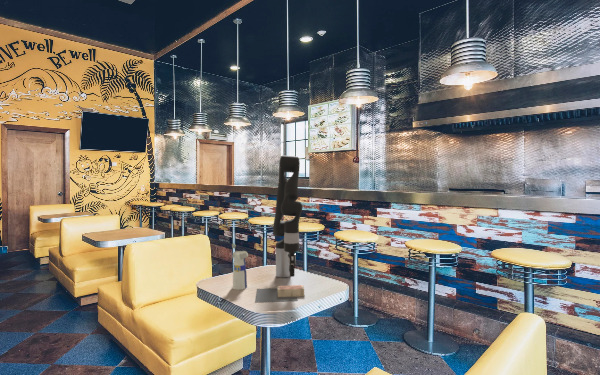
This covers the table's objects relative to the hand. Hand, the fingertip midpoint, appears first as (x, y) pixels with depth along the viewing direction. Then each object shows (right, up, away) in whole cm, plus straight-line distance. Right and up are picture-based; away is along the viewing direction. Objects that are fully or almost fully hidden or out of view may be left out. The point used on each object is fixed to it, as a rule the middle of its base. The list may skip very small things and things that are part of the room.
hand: (291, 273), depth 165 cm
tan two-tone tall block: (-7, -9, -1) cm, 11 cm away
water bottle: (-28, -11, +12) cm, 33 cm away
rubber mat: (-8, -11, 0) cm, 13 cm away
